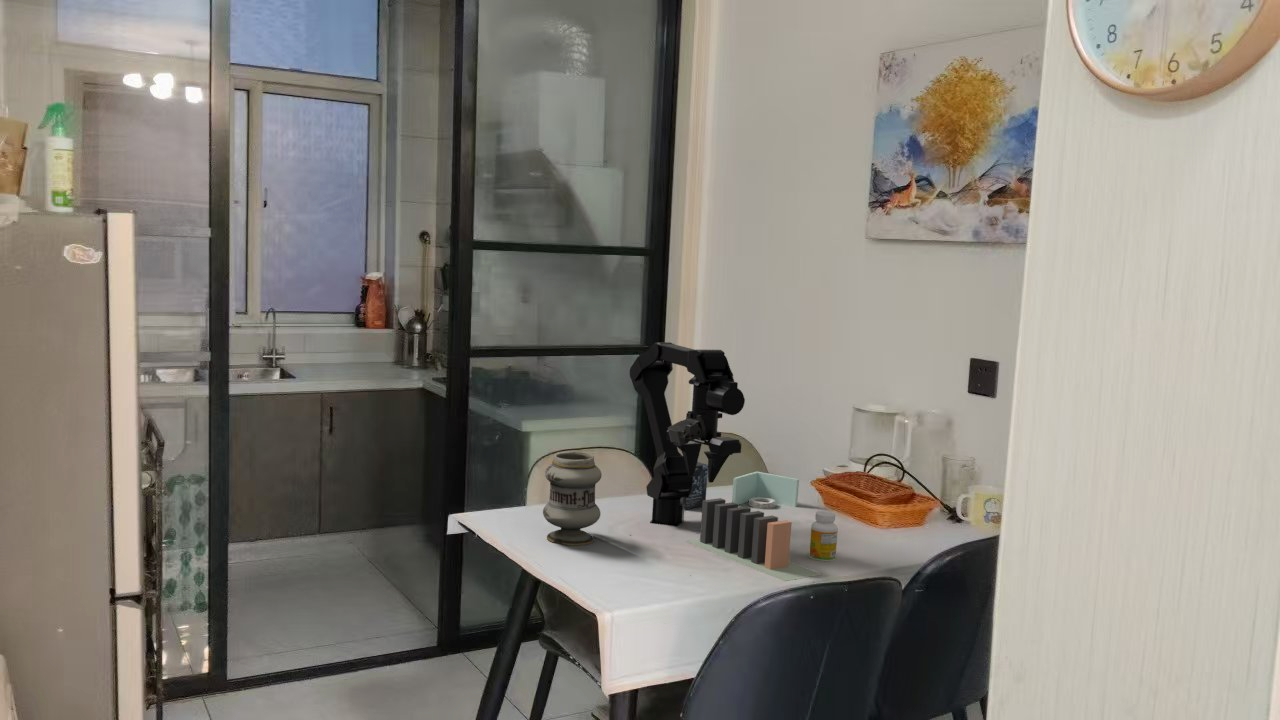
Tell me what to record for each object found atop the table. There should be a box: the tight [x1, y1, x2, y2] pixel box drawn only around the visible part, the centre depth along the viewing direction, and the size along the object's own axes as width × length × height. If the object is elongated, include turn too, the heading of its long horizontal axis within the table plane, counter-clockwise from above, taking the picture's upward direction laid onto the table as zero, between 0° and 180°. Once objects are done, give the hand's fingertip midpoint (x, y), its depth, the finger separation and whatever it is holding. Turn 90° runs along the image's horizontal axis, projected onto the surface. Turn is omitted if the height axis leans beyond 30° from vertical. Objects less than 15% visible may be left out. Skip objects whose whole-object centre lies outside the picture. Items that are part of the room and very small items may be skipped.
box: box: [682, 461, 708, 511], centre depth 257 cm, size 8×6×11 cm
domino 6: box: [765, 519, 793, 570], centre depth 208 cm, size 2×5×9 cm, turn 126°
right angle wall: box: [731, 471, 800, 510], centre depth 262 cm, size 12×12×8 cm
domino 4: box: [738, 510, 765, 559], centre depth 214 cm, size 2×5×9 cm, turn 126°
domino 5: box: [751, 515, 779, 564], centre depth 211 cm, size 2×5×9 cm, turn 126°
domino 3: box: [725, 506, 752, 554], centre depth 217 cm, size 2×5×9 cm, turn 126°
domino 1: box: [699, 497, 726, 544], centre depth 224 cm, size 2×5×9 cm, turn 126°
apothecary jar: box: [542, 451, 602, 546], centre depth 221 cm, size 12×12×18 cm
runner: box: [685, 538, 822, 582], centre depth 214 cm, size 30×10×1 cm, turn 36°
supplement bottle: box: [808, 510, 838, 562], centre depth 217 cm, size 5×5×10 cm
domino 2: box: [712, 501, 739, 549], centre depth 221 cm, size 2×5×9 cm, turn 127°
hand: (700, 479), depth 227 cm, fingers open, 6 cm apart
